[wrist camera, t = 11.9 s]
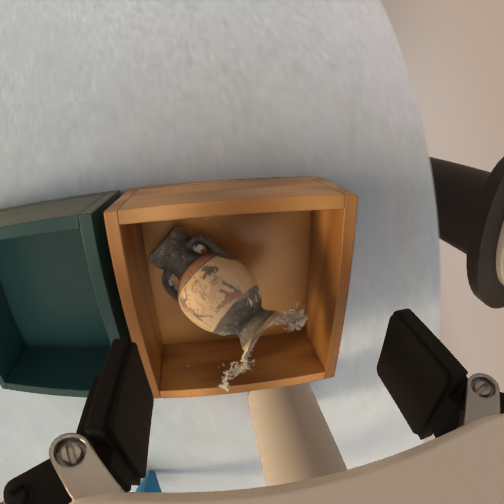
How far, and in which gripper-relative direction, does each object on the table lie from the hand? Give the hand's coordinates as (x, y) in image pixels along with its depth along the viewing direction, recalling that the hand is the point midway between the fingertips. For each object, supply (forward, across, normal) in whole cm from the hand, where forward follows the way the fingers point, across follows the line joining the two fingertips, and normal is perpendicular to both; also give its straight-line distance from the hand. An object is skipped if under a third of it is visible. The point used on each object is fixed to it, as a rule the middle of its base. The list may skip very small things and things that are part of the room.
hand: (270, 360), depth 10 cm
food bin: (+8, +1, 0) cm, 8 cm away
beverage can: (+8, -2, +10) cm, 13 cm away
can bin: (+7, +11, 0) cm, 14 cm away
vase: (+4, 0, +2) cm, 5 cm away
